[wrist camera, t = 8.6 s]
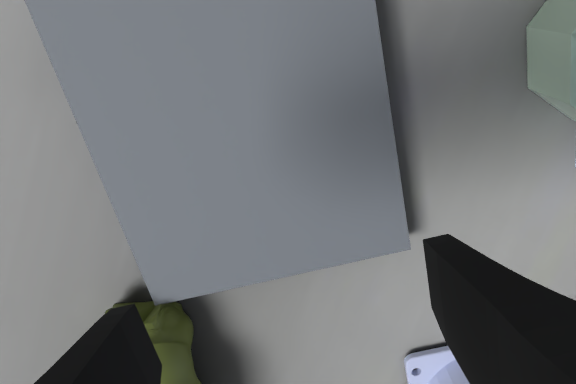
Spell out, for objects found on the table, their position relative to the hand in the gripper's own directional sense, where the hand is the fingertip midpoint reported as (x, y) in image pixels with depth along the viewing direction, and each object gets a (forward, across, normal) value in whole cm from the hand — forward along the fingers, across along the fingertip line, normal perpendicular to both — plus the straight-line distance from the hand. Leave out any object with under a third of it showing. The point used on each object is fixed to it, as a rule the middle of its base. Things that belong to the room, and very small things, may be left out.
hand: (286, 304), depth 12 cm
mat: (+10, +1, -2) cm, 10 cm away
